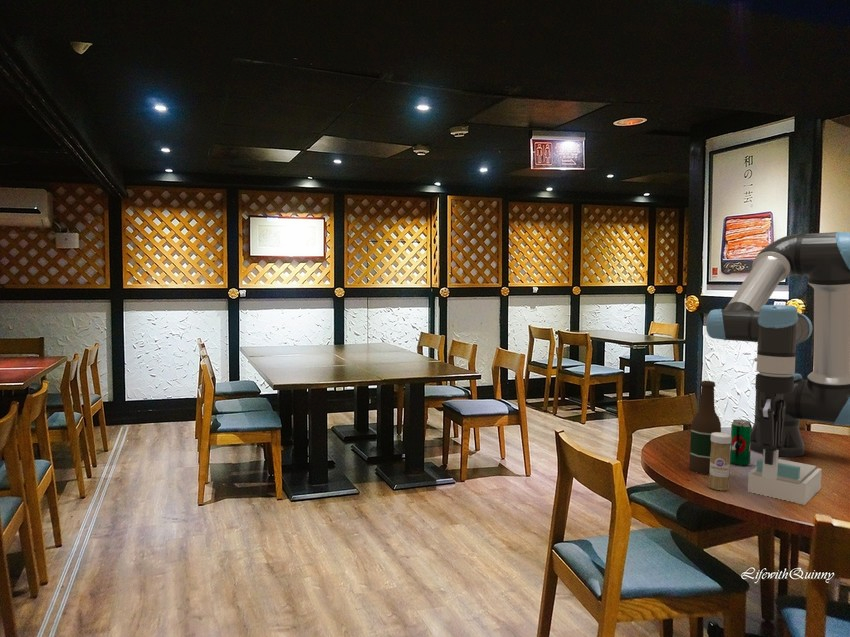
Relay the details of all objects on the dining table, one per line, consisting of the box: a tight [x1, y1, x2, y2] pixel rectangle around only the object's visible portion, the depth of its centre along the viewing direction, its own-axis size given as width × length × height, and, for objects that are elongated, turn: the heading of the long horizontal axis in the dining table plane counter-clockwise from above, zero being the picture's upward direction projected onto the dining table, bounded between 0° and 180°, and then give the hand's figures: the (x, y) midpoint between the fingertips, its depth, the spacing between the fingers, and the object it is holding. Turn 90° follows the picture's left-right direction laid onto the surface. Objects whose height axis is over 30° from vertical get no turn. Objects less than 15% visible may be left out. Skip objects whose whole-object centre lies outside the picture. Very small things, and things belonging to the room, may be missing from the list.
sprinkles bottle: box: [708, 432, 732, 492], centre depth 154 cm, size 5×5×14 cm
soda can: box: [730, 418, 753, 467], centre depth 175 cm, size 5×5×12 cm
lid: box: [754, 458, 817, 484], centre depth 153 cm, size 16×10×3 cm, turn 137°
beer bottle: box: [689, 380, 722, 476], centre depth 168 cm, size 8×8×24 cm
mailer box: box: [747, 466, 823, 506], centre depth 153 cm, size 16×12×5 cm
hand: (769, 477), depth 143 cm, fingers closed
